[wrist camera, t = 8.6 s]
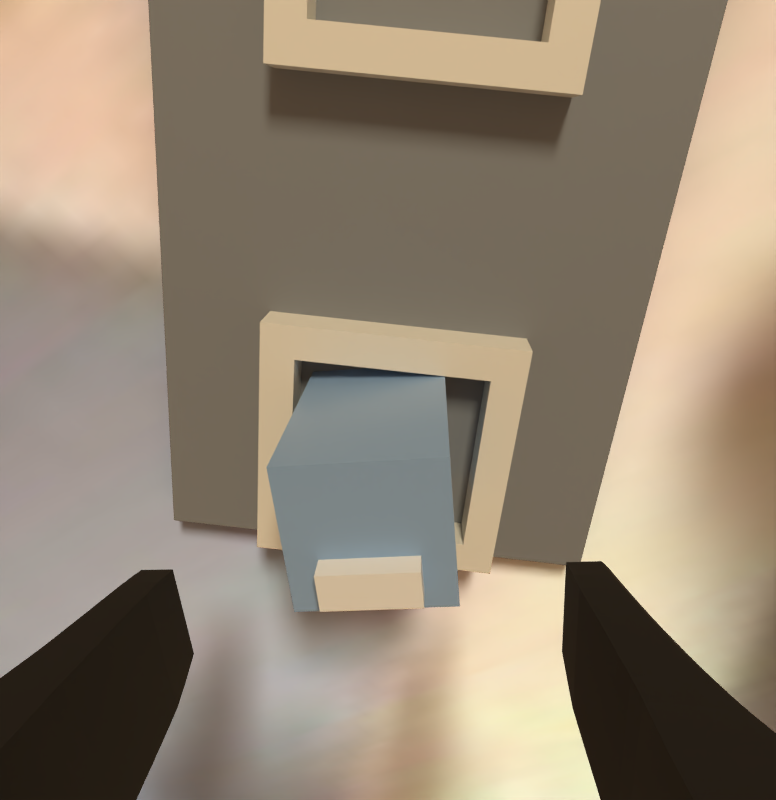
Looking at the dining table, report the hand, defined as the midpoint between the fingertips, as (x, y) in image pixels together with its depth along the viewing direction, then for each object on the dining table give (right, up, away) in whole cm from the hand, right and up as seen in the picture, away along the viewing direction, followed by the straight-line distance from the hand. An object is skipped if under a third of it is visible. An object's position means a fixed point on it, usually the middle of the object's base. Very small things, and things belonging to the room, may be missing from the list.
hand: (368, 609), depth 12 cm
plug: (0, +3, +8) cm, 9 cm away
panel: (+1, +9, +7) cm, 12 cm away
